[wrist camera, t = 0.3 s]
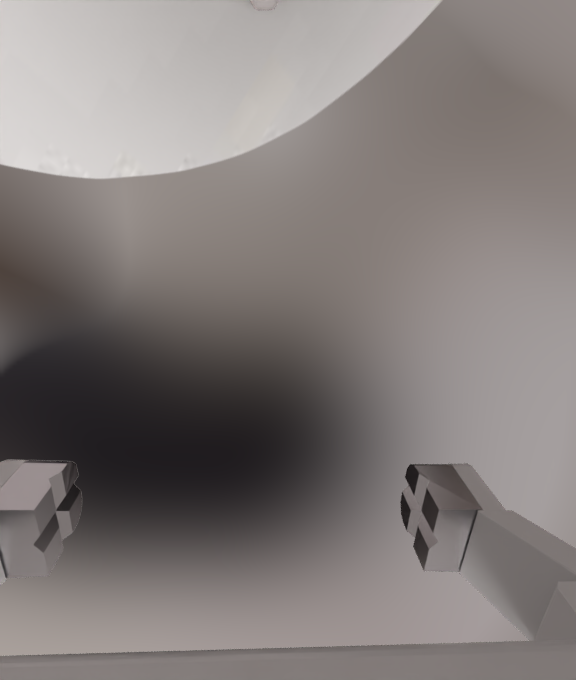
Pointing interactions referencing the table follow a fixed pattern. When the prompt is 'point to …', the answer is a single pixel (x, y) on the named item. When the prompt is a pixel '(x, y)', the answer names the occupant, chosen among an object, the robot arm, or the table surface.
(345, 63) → the table surface
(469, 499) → the robot arm
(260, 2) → the eye dropper bottle
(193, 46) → the table surface
